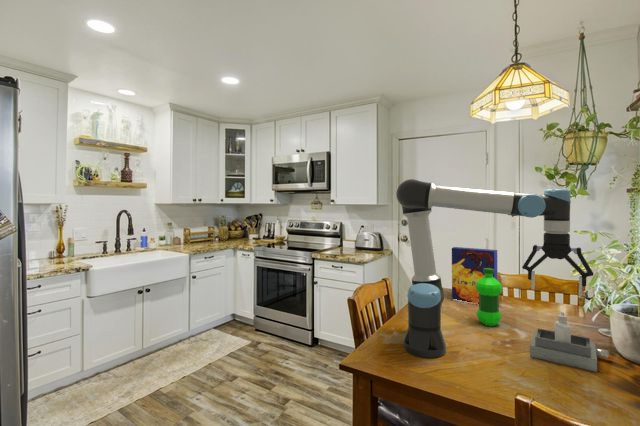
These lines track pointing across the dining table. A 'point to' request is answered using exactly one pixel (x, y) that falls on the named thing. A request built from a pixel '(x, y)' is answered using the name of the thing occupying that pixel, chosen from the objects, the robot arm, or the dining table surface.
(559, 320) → the eye dropper bottle
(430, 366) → the dining table surface
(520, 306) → the dining table surface
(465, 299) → the cereal box
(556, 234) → the robot arm
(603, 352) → the grey rectangular open box
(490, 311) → the plastic bottle
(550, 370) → the dining table surface
